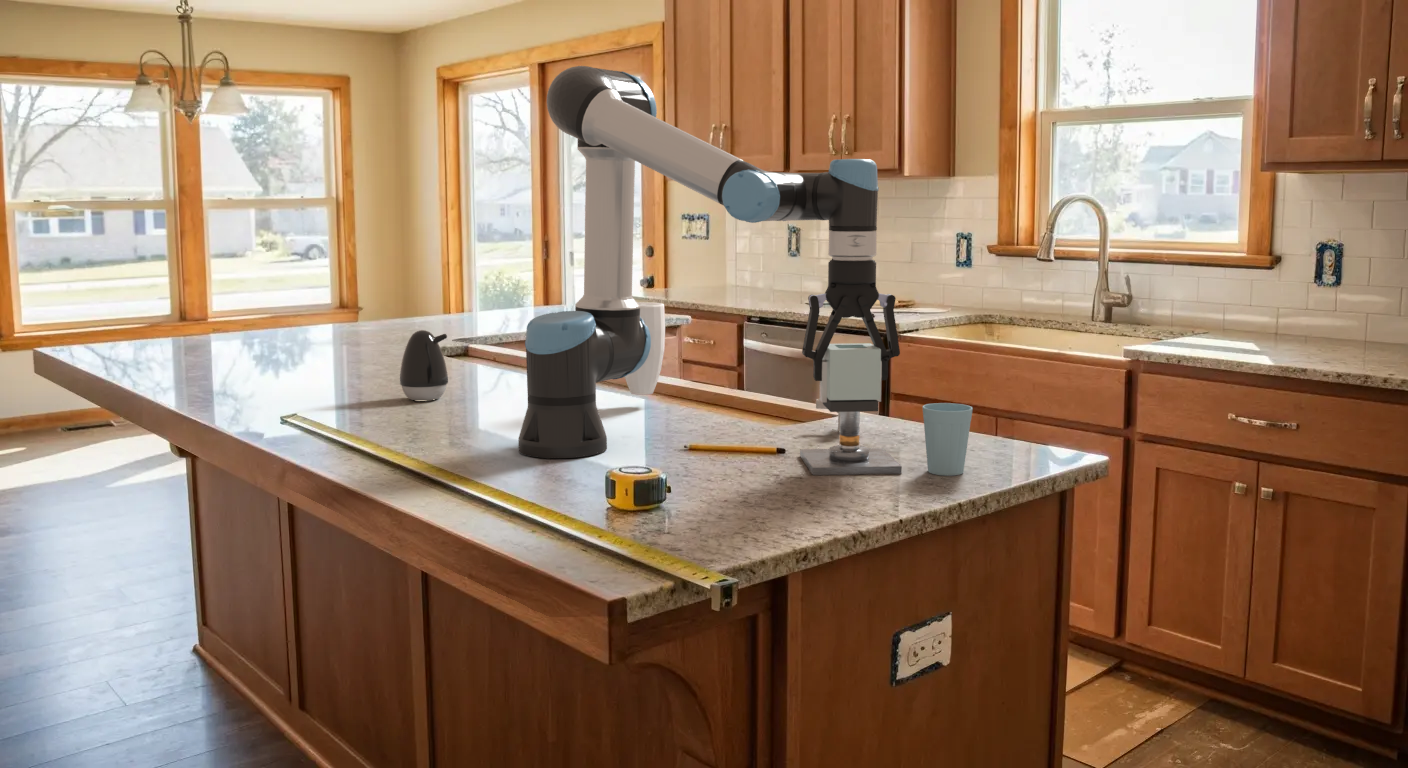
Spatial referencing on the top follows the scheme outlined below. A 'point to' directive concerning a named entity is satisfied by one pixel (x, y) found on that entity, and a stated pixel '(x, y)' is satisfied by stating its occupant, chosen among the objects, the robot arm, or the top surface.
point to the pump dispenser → (423, 367)
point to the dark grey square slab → (851, 405)
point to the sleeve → (853, 371)
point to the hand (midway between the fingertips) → (850, 400)
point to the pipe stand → (849, 454)
